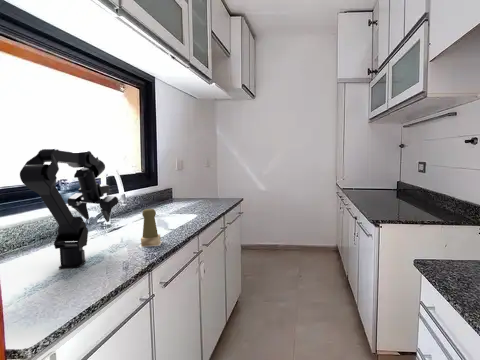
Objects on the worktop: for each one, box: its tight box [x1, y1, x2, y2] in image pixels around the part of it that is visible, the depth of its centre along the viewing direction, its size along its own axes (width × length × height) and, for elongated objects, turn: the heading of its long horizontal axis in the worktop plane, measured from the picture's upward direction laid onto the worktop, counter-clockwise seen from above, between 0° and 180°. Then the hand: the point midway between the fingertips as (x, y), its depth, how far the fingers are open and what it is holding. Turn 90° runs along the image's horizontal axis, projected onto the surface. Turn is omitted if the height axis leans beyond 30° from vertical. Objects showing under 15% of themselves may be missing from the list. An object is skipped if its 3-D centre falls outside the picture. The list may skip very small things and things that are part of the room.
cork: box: [141, 208, 159, 238], centre depth 145 cm, size 6×6×11 cm
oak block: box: [140, 233, 162, 247], centre depth 146 cm, size 6×6×3 cm
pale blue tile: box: [138, 240, 163, 248], centre depth 146 cm, size 12×11×1 cm
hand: (98, 220), depth 140 cm, fingers open, 9 cm apart
